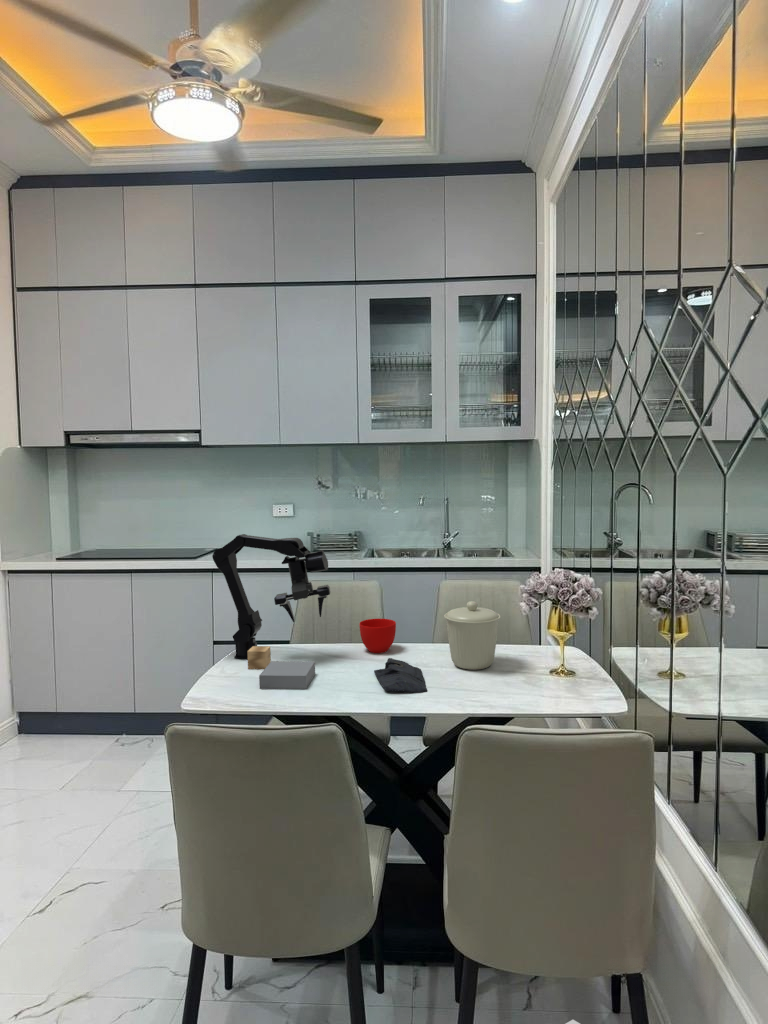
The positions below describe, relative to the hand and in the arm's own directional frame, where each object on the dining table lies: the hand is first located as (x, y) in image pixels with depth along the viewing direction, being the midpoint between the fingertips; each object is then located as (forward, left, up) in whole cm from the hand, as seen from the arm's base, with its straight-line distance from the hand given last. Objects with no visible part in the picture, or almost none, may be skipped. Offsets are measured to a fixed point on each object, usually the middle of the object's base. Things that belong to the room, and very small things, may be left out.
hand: (307, 619), depth 214 cm
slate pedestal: (-1, -23, -14) cm, 27 cm away
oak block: (-14, -9, -14) cm, 22 cm away
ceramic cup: (+23, +12, -14) cm, 29 cm away
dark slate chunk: (+33, -22, -14) cm, 42 cm away
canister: (+56, -6, -14) cm, 58 cm away
